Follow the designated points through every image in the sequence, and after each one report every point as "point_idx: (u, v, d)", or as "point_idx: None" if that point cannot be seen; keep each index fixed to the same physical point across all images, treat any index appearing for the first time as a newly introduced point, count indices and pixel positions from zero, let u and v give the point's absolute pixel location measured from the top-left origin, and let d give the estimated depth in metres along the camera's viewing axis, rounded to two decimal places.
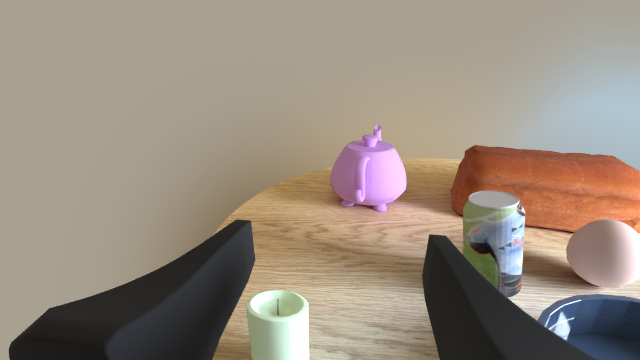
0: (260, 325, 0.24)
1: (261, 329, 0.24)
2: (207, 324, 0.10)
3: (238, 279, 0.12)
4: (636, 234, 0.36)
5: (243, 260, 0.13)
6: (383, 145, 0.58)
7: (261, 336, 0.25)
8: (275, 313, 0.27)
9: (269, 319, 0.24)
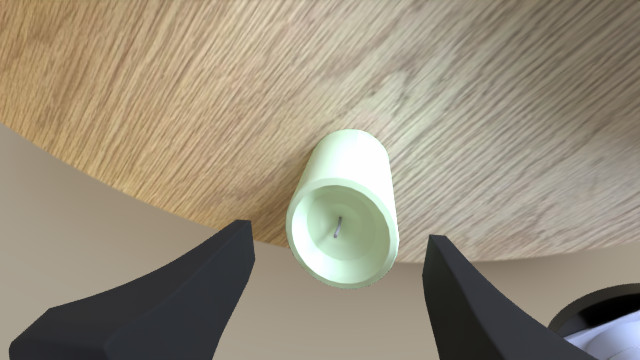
0: None
1: None
2: (207, 324, 0.10)
3: (238, 279, 0.12)
4: None
5: (243, 260, 0.13)
6: None
7: None
8: (335, 221, 0.15)
9: (377, 279, 0.14)
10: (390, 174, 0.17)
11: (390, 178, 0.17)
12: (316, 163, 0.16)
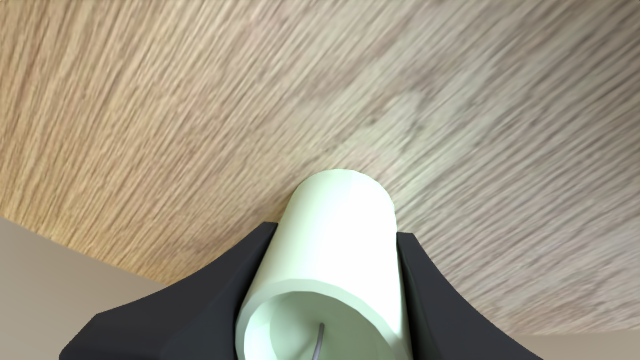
0: None
1: None
2: None
3: None
4: None
5: None
6: None
7: None
8: (314, 331, 0.10)
9: None
10: None
11: (398, 250, 0.11)
12: (286, 235, 0.10)
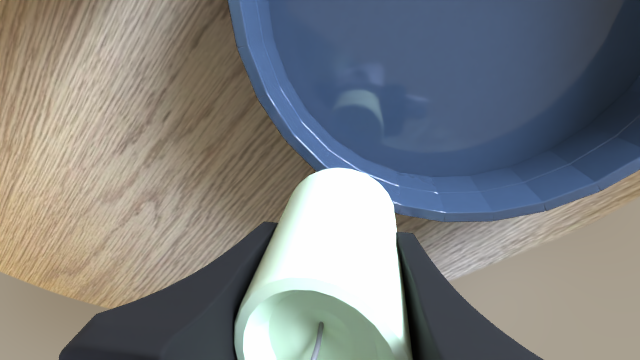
0: None
1: None
2: None
3: None
4: None
5: None
6: None
7: None
8: (314, 330, 0.10)
9: None
10: None
11: (397, 249, 0.11)
12: (286, 234, 0.10)
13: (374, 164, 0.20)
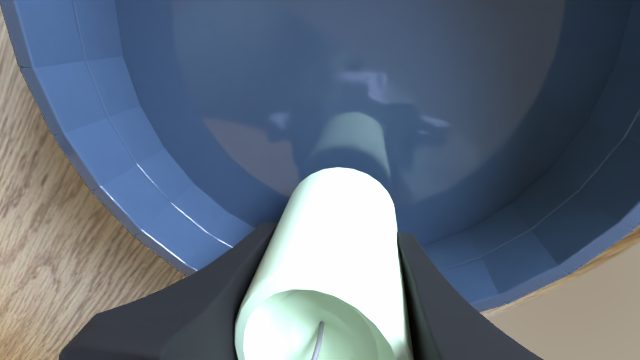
0: None
1: None
2: None
3: None
4: None
5: None
6: None
7: None
8: (314, 329, 0.10)
9: None
10: None
11: (398, 249, 0.11)
12: (286, 234, 0.10)
13: None
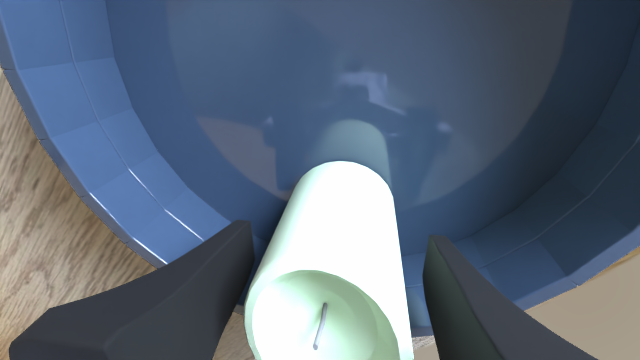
0: None
1: None
2: (207, 324, 0.10)
3: (238, 279, 0.12)
4: None
5: (243, 260, 0.13)
6: None
7: None
8: (318, 310, 0.10)
9: None
10: (396, 228, 0.13)
11: (397, 237, 0.12)
12: (291, 221, 0.11)
13: None
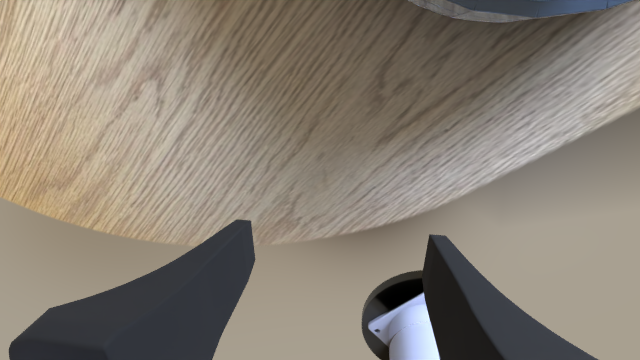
0: None
1: None
2: (207, 324, 0.10)
3: (238, 279, 0.12)
4: None
5: (243, 260, 0.13)
6: None
7: None
8: None
9: None
10: None
11: None
12: None
13: None
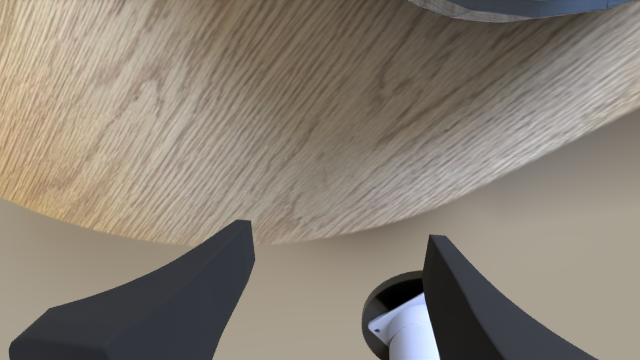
0: None
1: None
2: (207, 324, 0.10)
3: (238, 279, 0.12)
4: None
5: (243, 260, 0.13)
6: None
7: None
8: None
9: None
10: None
11: None
12: None
13: None
